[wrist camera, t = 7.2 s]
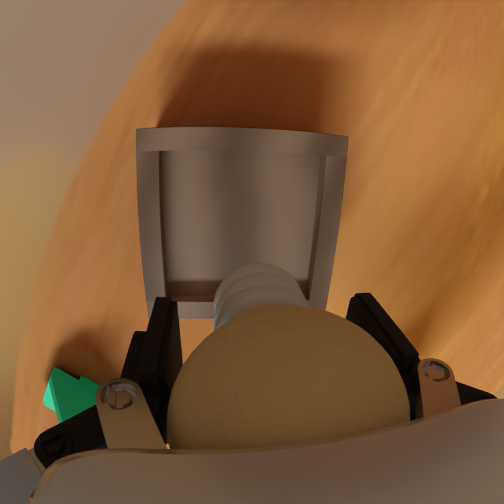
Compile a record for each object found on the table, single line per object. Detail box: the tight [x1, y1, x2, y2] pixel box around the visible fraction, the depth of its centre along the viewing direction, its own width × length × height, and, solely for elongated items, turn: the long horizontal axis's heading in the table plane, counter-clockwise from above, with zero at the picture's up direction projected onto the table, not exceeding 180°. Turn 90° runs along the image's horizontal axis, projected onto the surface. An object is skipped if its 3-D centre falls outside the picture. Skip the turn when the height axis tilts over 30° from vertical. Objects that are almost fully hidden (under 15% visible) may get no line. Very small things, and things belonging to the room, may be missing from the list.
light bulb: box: [167, 263, 410, 450], centre depth 10 cm, size 6×6×10 cm
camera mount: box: [43, 367, 100, 423], centre depth 32 cm, size 12×8×10 cm, turn 55°
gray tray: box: [136, 127, 348, 319], centre depth 25 cm, size 14×14×7 cm
